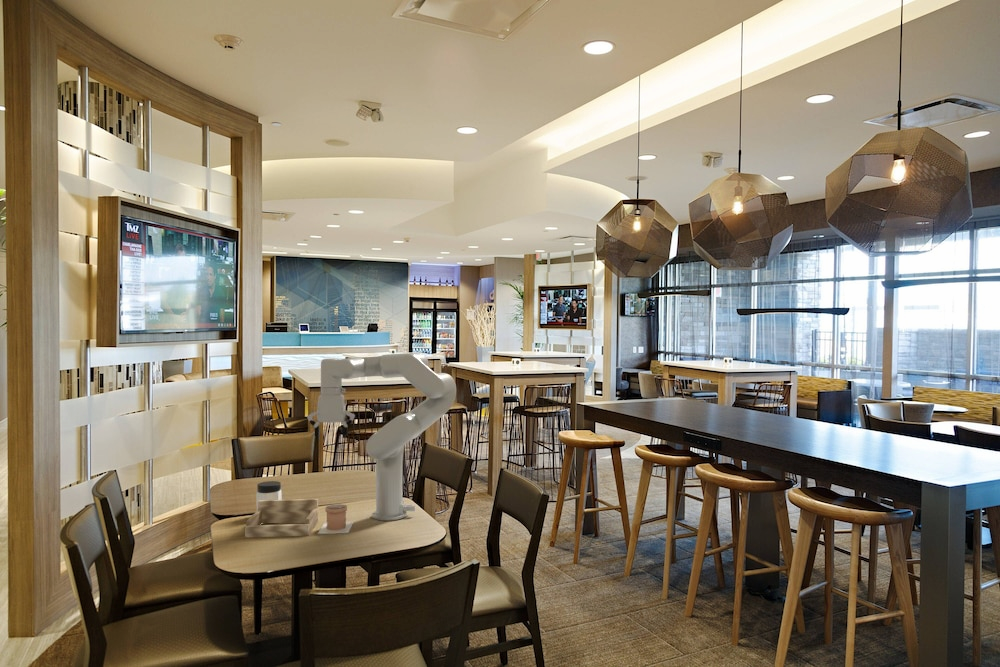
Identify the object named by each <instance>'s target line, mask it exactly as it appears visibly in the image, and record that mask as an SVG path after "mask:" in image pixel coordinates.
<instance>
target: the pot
mask: <svg viewBox="0 0 1000 667" xmlns="http://www.w3.org/2000/svg"><path fill="white" fill-rule="evenodd" d="M347 511H348V506H347V505H346V504H343V503H342V504H341V503H335V504H329V505H326V506H325V513H326V523H327V529H328V530H341V529H344V528H346V522H347Z"/></svg>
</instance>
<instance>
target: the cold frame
mask: <svg viewBox="0 0 1000 667" xmlns="http://www.w3.org/2000/svg"><path fill="white" fill-rule="evenodd" d="M318 522H319V498H301V499H300V498H299V499H298V498H296V499H282V500H259V501H258V510H257V509H256V511H255V512H254V513H253V514H252V515H250V517H249V518H248V519H247V520H246V521H245V526H244V538H271V537H272V538H274V537H275V538H276V537H301V536H302V537H303V536H310V534H311V533H312V531H313V530H314V529H315V527H316V526H317V524H318ZM261 523H279V524H261ZM260 524H261V525H260Z"/></svg>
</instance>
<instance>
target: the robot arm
mask: <svg viewBox="0 0 1000 667" xmlns="http://www.w3.org/2000/svg"><path fill="white" fill-rule="evenodd" d="M429 365H430V364H429V359H428V357H427V356H426V355H424V354H423V353H420V352H406V353H390V354H389V353H388V354H382V355H378V356H365V357H361V356H360V357H348V358H343V359H340V358H324V359H321V361H320V395H318V399H317V408H316V409H317V410H316V411H314V412H312V413H310V414H308V415H307V416H306V418H307V421H308V422H309V424H310V425H311V426H312V427H313V428H314V437H315V439H319V438H320V424H321V423H323V424H324V423H341V425H343V428H342V438H343V439H346V437H347V436H348V426H350V425H351V423H353V421H354V419H355V418H356V415H355V413H352V412H350V411H348V410H346V401H345V395H344V393H346V390H347V389H346V388H344V387H342V386H343V385H342V382H343V381H342V380H351V379H352V380H353V379H355V378H356V379H357V378H369V377H383V378H385V379H389V378H390V379H391V378H392V379H393V378H404V379H405V380H406V381H407V382H408V383H410V384H411V386H412V387H414V388H415V389H417V391H418V392H420V393H421V394H422V395H423V396H425V397H427V398H426V399H424V400H423V401H422V402H421V403H419V405H417V406H415V407H414V408H413V409H411V410H410V411H409V412H406V413H402V414H400V415H397V416H396V417H394V418H392V419H391V420H390V421H388V422H387V423H386V424H385V425H383V426H382V427H381V428H379V429H378V430H377V431H376V432H374V433H373V434H372V435H371V436H369V438H368V439H367V442H366V444H365V445H366V446H365V447H366V453H367V455H368V456H369V457H370V458H372V460H376V462H375V463H376V464H375V501H376V502H375V505H376V506H375V508H376V510H375V511H373V512H372V513H371V518H372V519H373V520H376V521H385V522H386V521H396V520H401V519H404V518H406V517H407V515H408V512H415V511H416V506H415V505H413V504H405V501H404V500H403V460H404V450H405V444H407V443H409V442H410V441H412V440H414V439H416V438H418V437H419V436H420V435H422V433H424V432H425V431H426V430H427V429H428V428H430V427H431V426H432V425H434V424H435V423H436V422H437V421H438V420H439V419H440V418H442V417H444V415H446V413H448V412H449V410H451V408H452V406H453V405H454V403H455V400H456V397H457V385H456V382H455V379H454V377H452V376H451V374H448V373H446V372H437V373H436V372H434V371H433V370H432V369H431V368H430V367H429ZM347 416H348V417H349V420H348V421H346V417H347ZM313 417H316V421H315V420H314V419H313Z"/></svg>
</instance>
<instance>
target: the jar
mask: <svg viewBox="0 0 1000 667" xmlns="http://www.w3.org/2000/svg"><path fill="white" fill-rule="evenodd" d="M256 485H257V487H256V488H257V491H256V494H255V496H256V499H255V500H256V506H255V507H256V511H257V510H258V501H259V500H283V498H282V496H283V495H282V488H281V487H282V484H281V482H280V481H276V480H274V481H273V480H271V481H269V480H268V481H262V482H258V483H257V484H256Z"/></svg>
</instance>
